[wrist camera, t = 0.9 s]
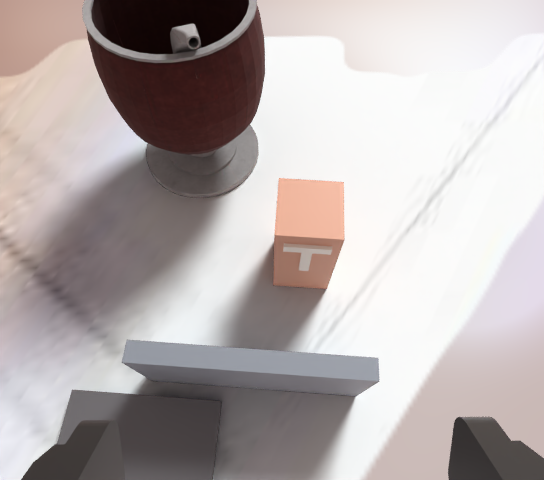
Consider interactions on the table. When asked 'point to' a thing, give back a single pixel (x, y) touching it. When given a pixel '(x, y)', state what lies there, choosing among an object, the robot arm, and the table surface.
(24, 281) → the table surface
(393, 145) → the table surface
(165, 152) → the mate gourd
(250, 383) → the slate screen
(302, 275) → the terracotta block
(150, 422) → the charcoal mat
